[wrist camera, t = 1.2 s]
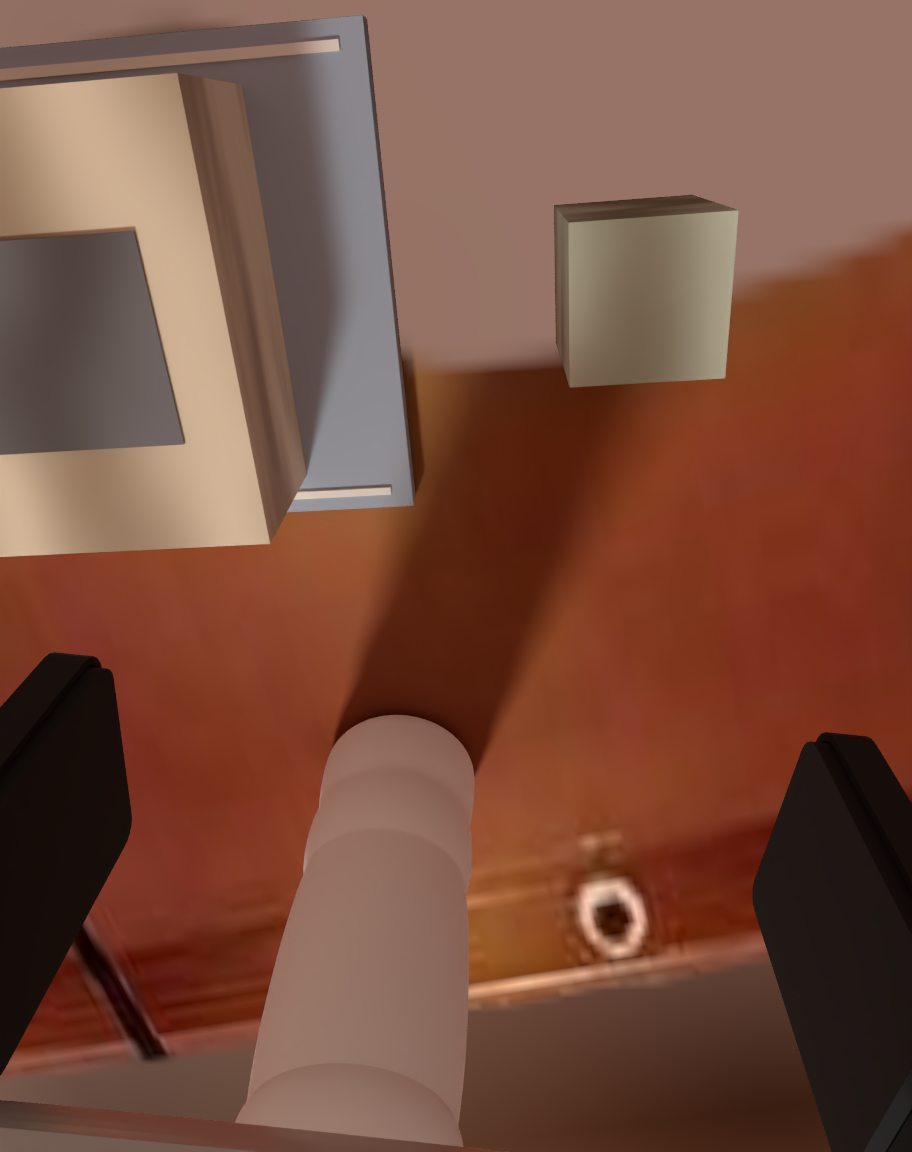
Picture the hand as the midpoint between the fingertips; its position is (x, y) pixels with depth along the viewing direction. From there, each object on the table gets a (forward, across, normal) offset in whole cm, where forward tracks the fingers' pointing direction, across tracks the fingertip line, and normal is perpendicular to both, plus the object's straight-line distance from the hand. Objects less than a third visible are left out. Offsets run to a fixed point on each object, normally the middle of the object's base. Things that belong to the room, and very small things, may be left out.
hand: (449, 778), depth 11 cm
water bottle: (+22, +2, +19) cm, 30 cm away
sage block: (+22, -4, -4) cm, 23 cm away
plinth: (+21, +12, -1) cm, 24 cm away
